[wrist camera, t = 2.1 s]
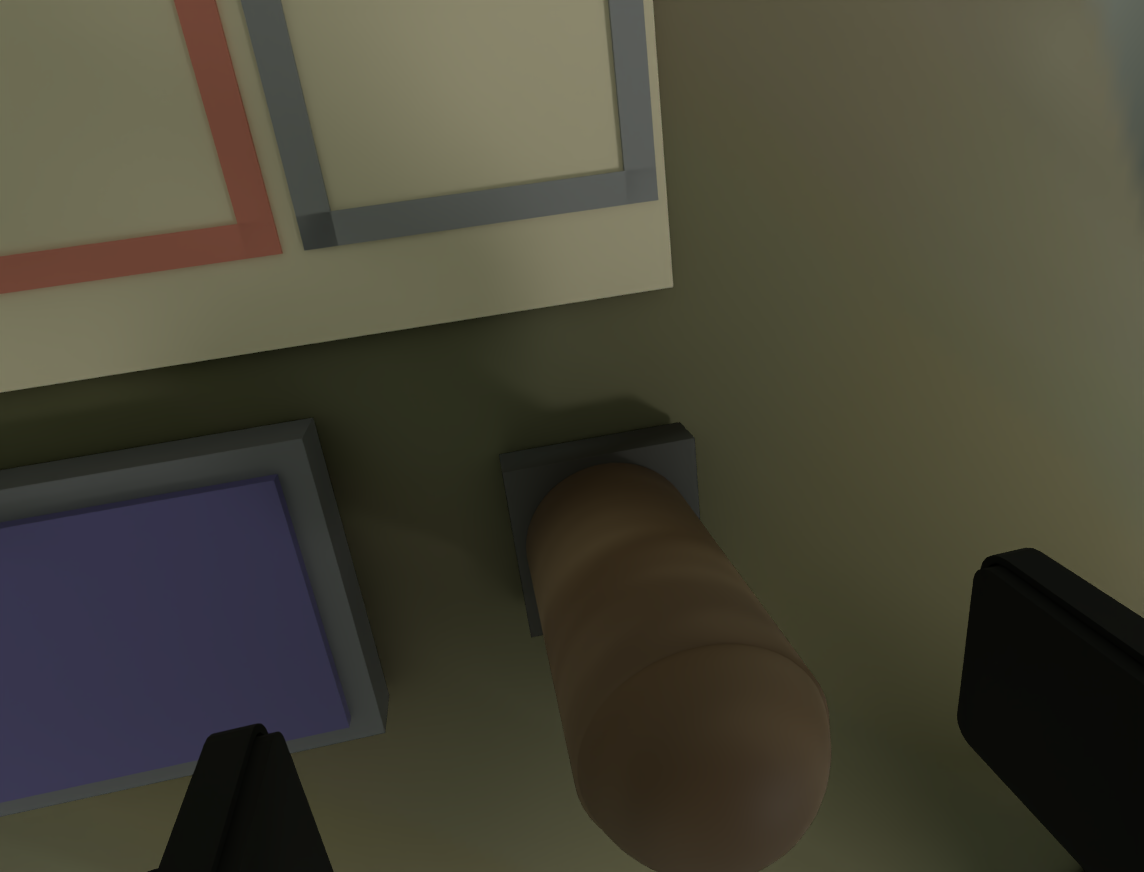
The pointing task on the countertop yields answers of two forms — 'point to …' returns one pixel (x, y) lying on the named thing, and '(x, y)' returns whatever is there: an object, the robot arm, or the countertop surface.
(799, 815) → the stamp
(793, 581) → the countertop surface
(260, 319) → the card sheet
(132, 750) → the ink pad
